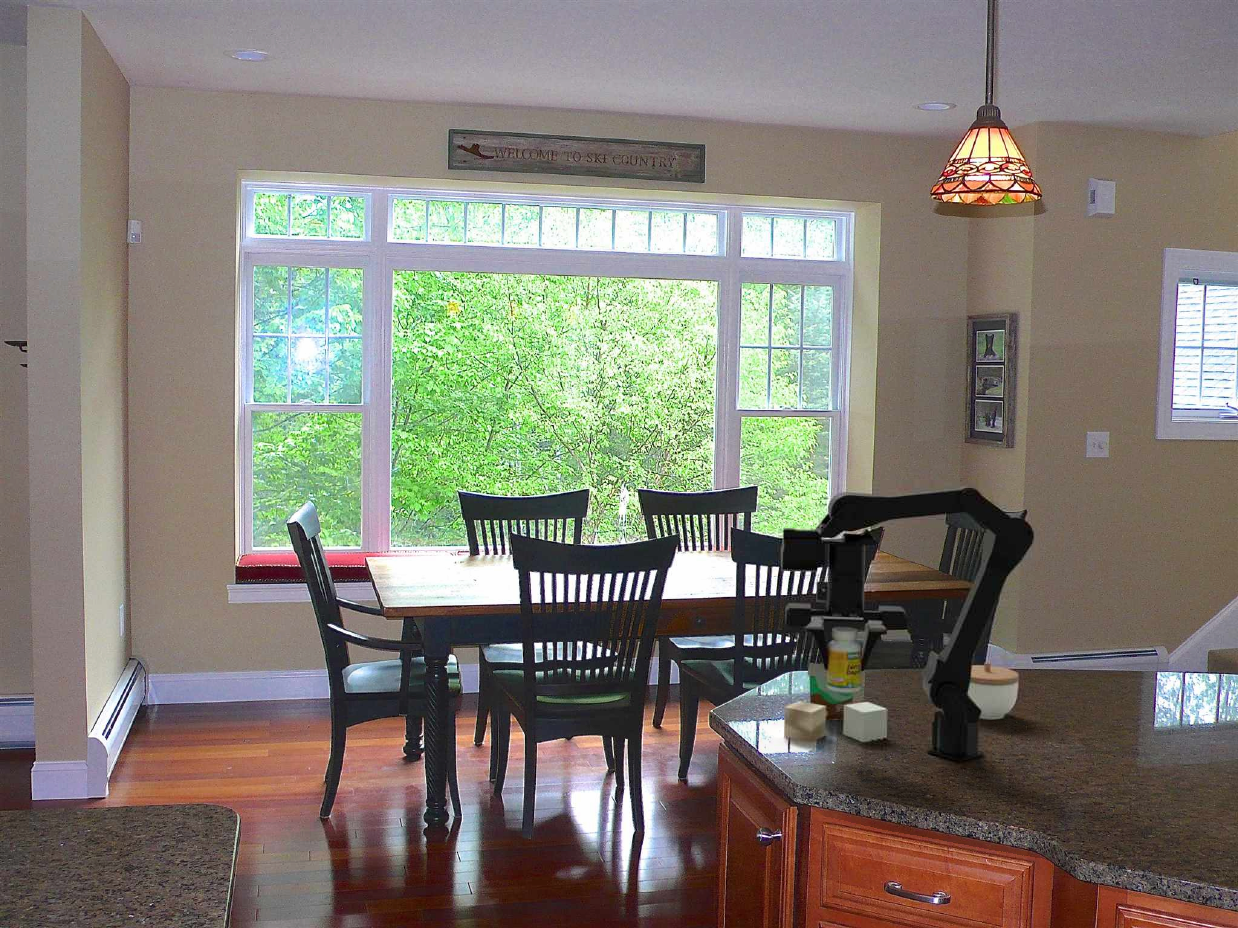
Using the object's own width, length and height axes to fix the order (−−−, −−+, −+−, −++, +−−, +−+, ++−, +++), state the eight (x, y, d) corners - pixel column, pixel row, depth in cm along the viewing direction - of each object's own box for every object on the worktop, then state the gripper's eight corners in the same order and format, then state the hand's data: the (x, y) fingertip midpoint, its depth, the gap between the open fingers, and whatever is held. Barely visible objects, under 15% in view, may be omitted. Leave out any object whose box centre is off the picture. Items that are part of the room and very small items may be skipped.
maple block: (825, 735, 194) (826, 706, 194) (811, 742, 190) (811, 712, 190) (798, 730, 197) (799, 701, 197) (784, 736, 193) (784, 707, 193)
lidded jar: (1031, 719, 205) (1032, 667, 204) (981, 725, 201) (982, 671, 200) (990, 704, 215) (992, 654, 214) (942, 709, 211) (943, 658, 210)
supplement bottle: (839, 682, 189) (841, 624, 188) (867, 689, 185) (869, 629, 185) (819, 688, 185) (821, 628, 185) (847, 694, 181) (849, 633, 181)
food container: (838, 726, 199) (840, 668, 199) (806, 719, 203) (807, 663, 202) (870, 711, 209) (871, 656, 209) (838, 705, 213) (840, 651, 212)
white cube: (886, 738, 193) (887, 708, 192) (862, 742, 190) (863, 712, 190) (866, 730, 197) (867, 701, 197) (843, 734, 195) (844, 705, 194)
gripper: (900, 566, 191) (898, 660, 192) (785, 563, 193) (784, 656, 194) (909, 577, 180) (906, 676, 181) (786, 573, 182) (785, 672, 183)
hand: (844, 669), depth 185 cm, fingers closed on supplement bottle, 5 cm apart
